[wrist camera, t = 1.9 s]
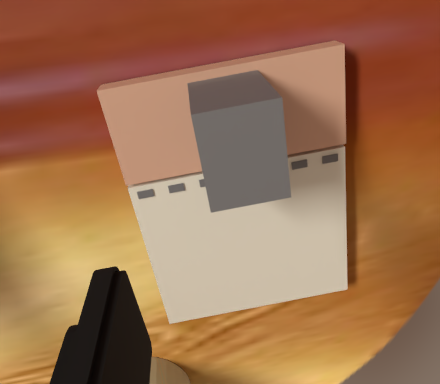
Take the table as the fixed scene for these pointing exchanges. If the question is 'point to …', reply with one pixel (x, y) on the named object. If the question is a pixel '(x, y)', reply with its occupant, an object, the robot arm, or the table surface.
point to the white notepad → (246, 240)
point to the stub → (230, 121)
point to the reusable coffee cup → (166, 372)
